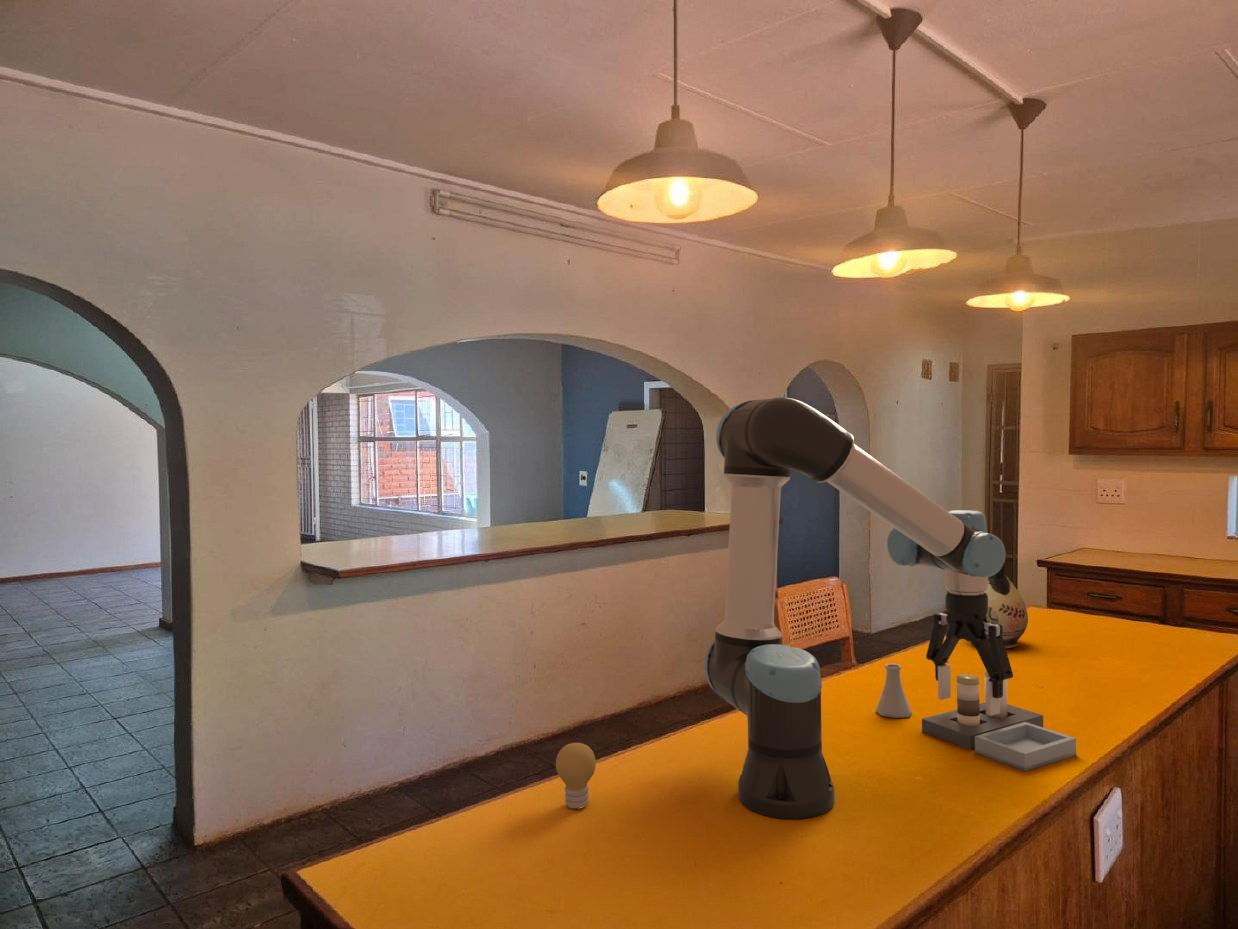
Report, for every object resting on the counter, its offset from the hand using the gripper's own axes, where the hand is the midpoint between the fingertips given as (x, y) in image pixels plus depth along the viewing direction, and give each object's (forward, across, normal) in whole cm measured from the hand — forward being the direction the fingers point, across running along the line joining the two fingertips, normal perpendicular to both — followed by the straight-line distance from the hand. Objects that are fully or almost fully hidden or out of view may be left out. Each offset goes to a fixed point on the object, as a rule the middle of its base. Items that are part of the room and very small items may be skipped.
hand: (968, 705), depth 157 cm
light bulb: (+6, +11, +78) cm, 79 cm away
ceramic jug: (+6, +40, -61) cm, 73 cm away
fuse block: (+5, 0, -4) cm, 7 cm away
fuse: (+5, 0, -8) cm, 10 cm away
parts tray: (+5, -12, 0) cm, 13 cm away
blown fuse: (+5, 0, 0) cm, 5 cm away
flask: (+6, +16, +3) cm, 17 cm away
